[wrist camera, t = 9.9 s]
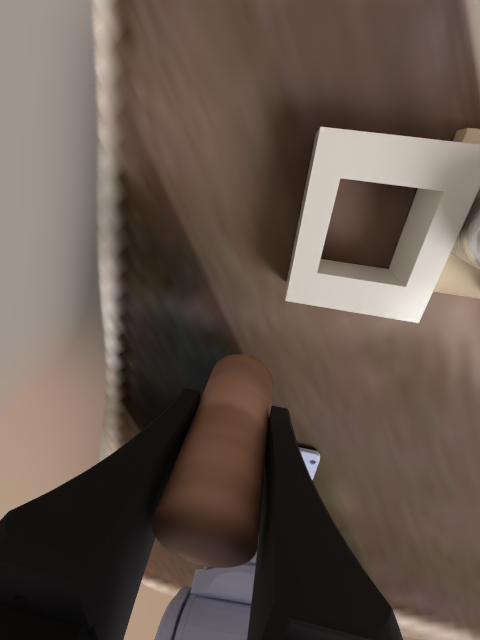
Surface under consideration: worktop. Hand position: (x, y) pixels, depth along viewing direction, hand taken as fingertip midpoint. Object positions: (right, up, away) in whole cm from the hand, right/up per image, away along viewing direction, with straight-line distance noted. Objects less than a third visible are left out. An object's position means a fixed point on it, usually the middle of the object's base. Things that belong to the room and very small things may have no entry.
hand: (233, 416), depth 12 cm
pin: (0, +1, +2) cm, 2 cm away
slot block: (+7, +9, +4) cm, 12 cm away
